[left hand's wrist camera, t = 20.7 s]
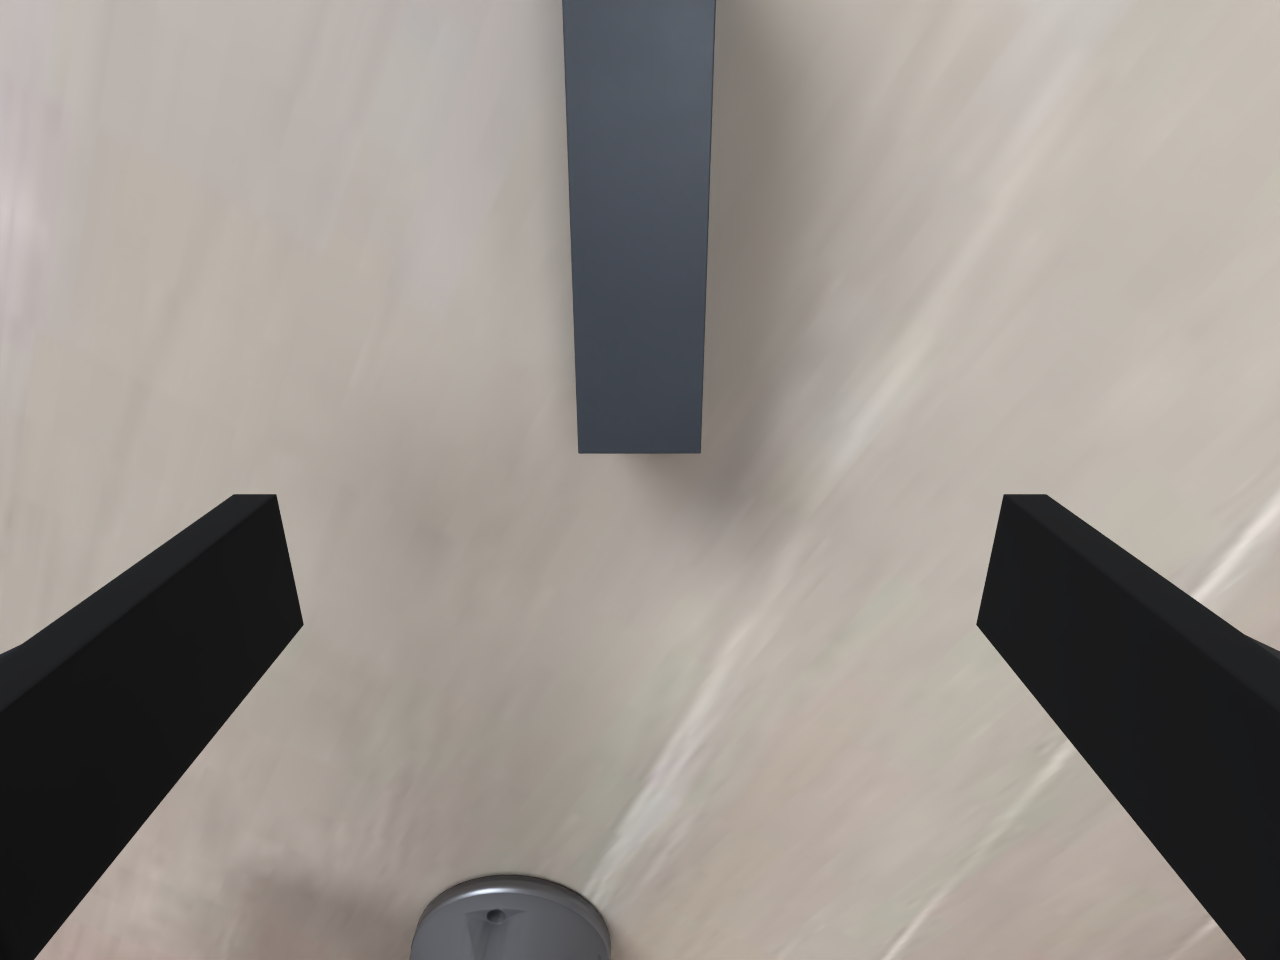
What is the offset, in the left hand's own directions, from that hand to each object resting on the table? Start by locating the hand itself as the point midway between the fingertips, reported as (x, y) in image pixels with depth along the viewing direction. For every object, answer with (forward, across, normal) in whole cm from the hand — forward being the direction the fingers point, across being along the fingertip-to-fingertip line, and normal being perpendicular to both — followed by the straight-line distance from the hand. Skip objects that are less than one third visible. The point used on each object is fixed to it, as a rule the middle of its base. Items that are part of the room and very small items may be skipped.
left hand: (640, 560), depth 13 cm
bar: (+26, 0, -7) cm, 27 cm away
